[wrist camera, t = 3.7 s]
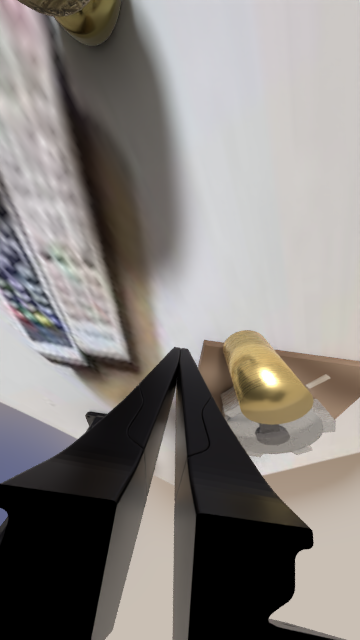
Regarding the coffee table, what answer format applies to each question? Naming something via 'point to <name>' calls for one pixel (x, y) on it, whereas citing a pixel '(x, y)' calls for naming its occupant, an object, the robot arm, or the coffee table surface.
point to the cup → (81, 17)
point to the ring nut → (269, 400)
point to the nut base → (313, 371)
